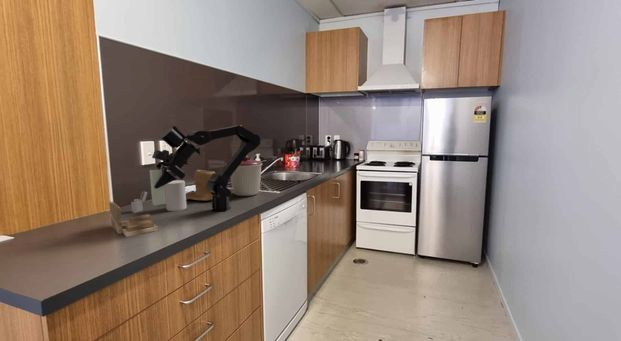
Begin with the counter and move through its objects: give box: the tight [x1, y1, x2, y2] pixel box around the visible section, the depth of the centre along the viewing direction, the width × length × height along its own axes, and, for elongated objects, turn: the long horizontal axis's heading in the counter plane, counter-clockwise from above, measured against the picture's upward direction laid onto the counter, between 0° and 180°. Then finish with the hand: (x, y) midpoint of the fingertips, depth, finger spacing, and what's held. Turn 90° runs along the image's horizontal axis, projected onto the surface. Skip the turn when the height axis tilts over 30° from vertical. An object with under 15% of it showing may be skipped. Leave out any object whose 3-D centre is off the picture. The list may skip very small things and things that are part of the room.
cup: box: [165, 179, 187, 212], centre depth 140 cm, size 8×8×12 cm
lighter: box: [130, 191, 148, 214], centre depth 137 cm, size 7×2×8 cm, turn 158°
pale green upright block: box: [149, 169, 166, 206], centre depth 119 cm, size 4×3×13 cm
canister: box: [230, 155, 263, 197], centre depth 168 cm, size 18×18×21 cm
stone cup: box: [186, 169, 216, 202], centre depth 157 cm, size 15×12×15 cm
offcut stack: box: [124, 213, 155, 232], centre depth 109 cm, size 8×4×4 cm, turn 132°
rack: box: [108, 201, 159, 238], centre depth 112 cm, size 11×17×9 cm, turn 42°
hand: (153, 187), depth 119 cm, fingers closed on pale green upright block, 3 cm apart
